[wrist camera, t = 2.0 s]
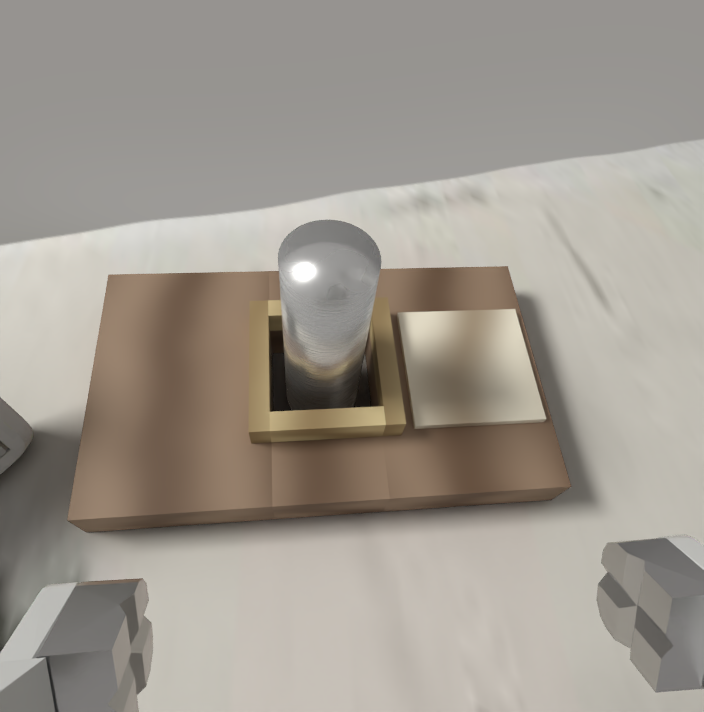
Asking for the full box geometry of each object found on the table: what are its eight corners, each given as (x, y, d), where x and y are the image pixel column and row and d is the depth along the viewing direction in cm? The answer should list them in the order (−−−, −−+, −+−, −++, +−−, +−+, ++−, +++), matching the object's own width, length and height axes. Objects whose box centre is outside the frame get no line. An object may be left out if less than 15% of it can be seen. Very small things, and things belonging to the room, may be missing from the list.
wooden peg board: (495, 290, 36) (515, 250, 33) (551, 499, 29) (584, 477, 26) (121, 299, 34) (100, 257, 30) (86, 532, 27) (53, 512, 23)
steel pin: (352, 361, 33) (375, 219, 22) (359, 423, 31) (387, 298, 20) (285, 364, 32) (277, 220, 22) (287, 427, 30) (279, 301, 20)
